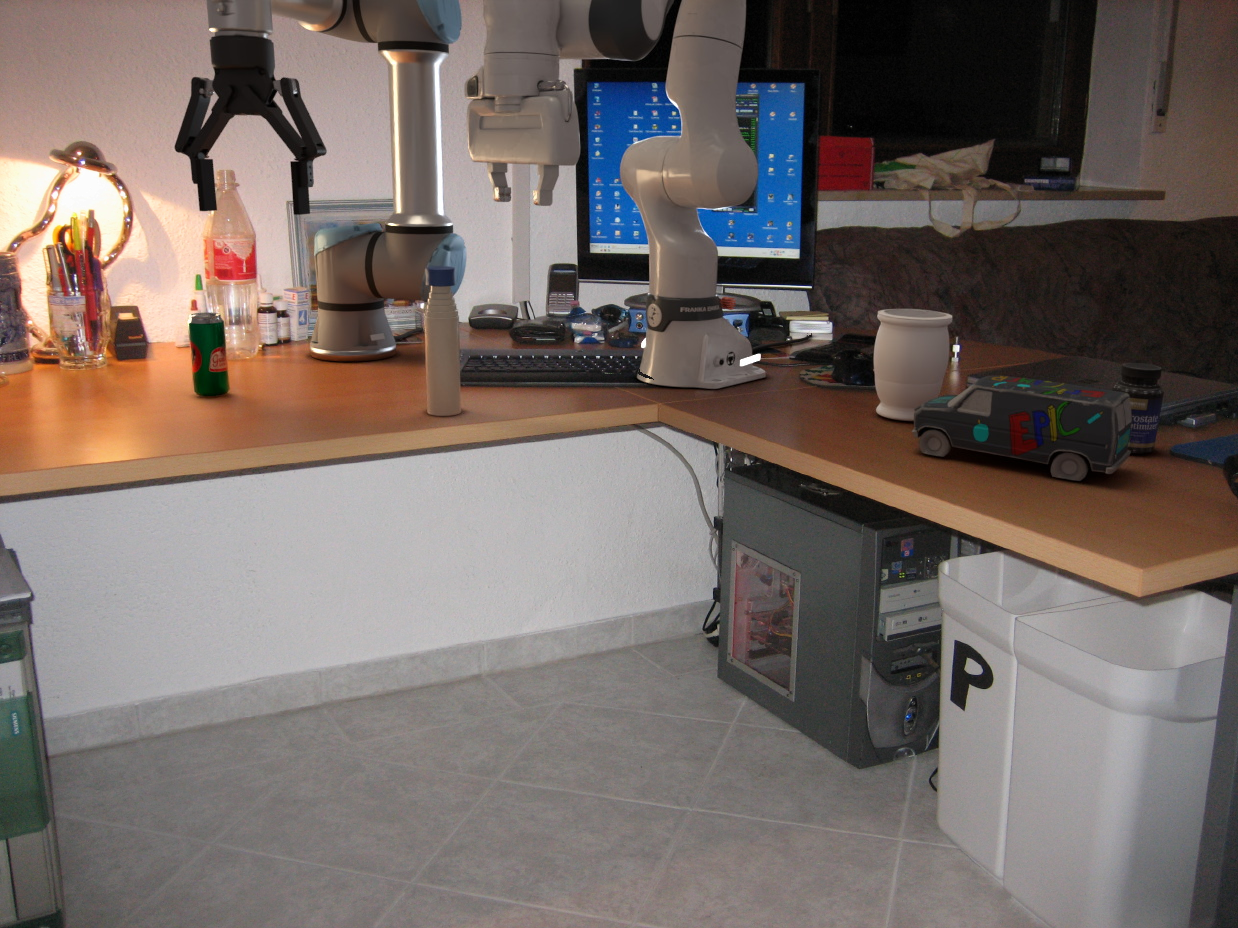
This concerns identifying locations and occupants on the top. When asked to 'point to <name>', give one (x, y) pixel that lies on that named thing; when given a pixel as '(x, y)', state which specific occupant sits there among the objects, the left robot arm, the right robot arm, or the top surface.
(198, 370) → the soda can
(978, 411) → the toy van
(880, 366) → the jar
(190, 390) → the top surface
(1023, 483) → the top surface
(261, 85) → the left robot arm
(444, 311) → the bottle
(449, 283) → the cap
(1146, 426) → the pill bottle
